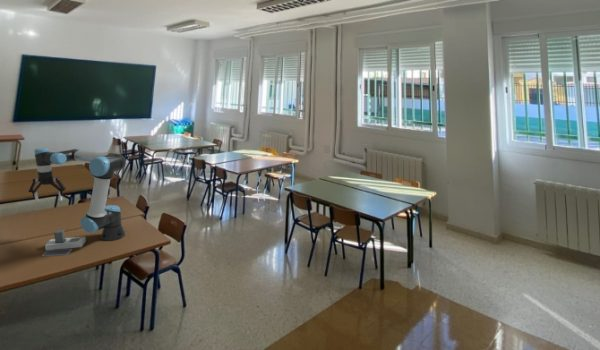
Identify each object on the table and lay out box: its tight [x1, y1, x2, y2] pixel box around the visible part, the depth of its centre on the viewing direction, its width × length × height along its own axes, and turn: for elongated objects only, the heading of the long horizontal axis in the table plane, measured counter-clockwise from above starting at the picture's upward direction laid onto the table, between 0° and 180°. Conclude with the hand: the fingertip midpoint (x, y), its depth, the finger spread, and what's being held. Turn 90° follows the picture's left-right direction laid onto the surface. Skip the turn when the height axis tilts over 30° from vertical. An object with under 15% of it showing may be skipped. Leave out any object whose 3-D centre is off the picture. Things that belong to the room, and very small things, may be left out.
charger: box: [53, 229, 66, 243], centre depth 208 cm, size 4×4×10 cm
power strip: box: [44, 235, 87, 251], centre depth 209 cm, size 20×9×4 cm, turn 109°
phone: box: [41, 248, 73, 258], centre depth 200 cm, size 7×14×1 cm, turn 106°
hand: (49, 201), depth 215 cm, fingers open, 13 cm apart
